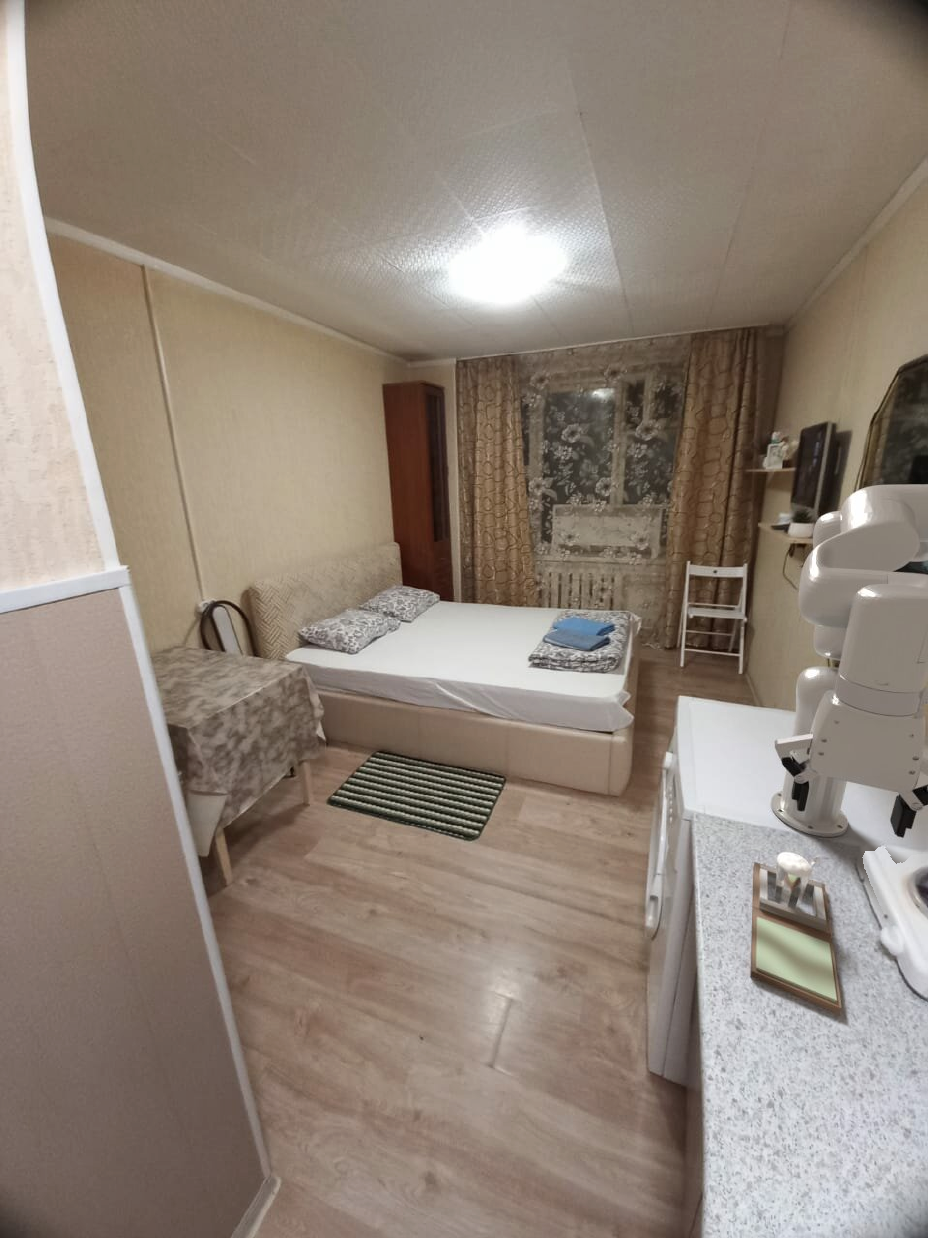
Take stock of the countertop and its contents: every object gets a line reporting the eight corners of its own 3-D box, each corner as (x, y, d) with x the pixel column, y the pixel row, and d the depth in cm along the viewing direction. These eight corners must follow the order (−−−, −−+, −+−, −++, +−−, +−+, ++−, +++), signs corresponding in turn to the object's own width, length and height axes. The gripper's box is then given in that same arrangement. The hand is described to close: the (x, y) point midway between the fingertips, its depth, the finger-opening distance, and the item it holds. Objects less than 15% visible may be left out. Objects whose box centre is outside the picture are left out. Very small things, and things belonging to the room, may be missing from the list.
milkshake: (814, 919, 75) (826, 868, 72) (775, 914, 76) (786, 863, 73) (800, 895, 79) (811, 846, 76) (764, 891, 80) (774, 842, 78)
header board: (753, 867, 85) (755, 856, 84) (823, 890, 80) (826, 878, 80) (750, 977, 67) (752, 963, 67) (839, 1015, 62) (843, 1001, 62)
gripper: (968, 694, 54) (929, 820, 59) (784, 668, 63) (765, 780, 68) (995, 725, 48) (949, 863, 53) (787, 692, 56) (765, 813, 62)
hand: (846, 816), depth 60 cm, fingers open, 9 cm apart
